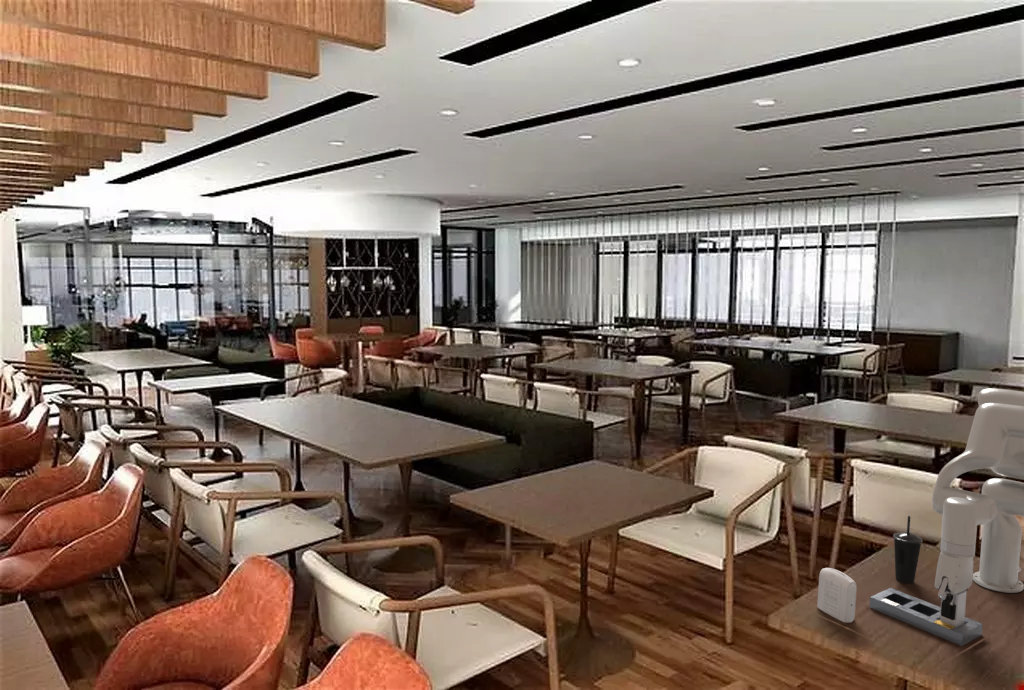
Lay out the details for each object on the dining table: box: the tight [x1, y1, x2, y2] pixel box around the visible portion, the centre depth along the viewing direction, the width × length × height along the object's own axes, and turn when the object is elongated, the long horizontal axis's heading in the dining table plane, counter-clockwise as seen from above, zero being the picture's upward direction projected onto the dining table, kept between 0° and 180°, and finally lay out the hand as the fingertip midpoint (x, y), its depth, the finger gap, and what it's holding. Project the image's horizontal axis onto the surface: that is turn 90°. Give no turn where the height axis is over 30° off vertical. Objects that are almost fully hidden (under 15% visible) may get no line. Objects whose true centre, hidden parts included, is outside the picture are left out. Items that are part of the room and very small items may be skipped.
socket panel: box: [869, 587, 983, 647], centre depth 193 cm, size 10×24×4 cm, turn 33°
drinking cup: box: [892, 515, 923, 585], centre depth 216 cm, size 8×8×20 cm
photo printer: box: [816, 567, 858, 623], centre depth 196 cm, size 10×4×12 cm, turn 25°
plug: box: [940, 589, 968, 628], centre depth 187 cm, size 4×4×11 cm
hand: (952, 614), depth 187 cm, fingers closed on plug, 3 cm apart
